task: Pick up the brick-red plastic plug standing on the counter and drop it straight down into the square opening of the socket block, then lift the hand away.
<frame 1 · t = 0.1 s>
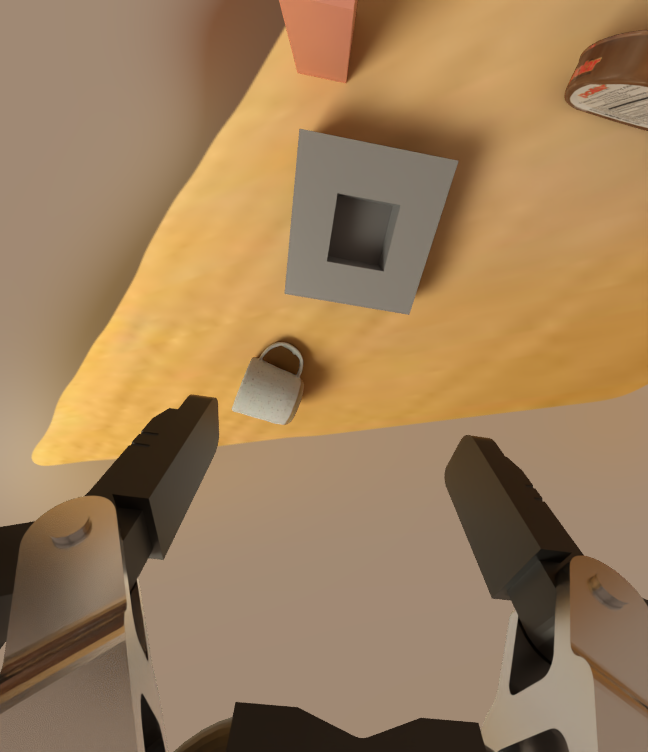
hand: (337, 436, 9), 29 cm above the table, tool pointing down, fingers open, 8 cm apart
ceramic mug: (275, 370, 42), on the table
tin: (619, 108, 27), on the table
plug: (325, 42, 25), on the table
socket block: (358, 231, 32), on the table
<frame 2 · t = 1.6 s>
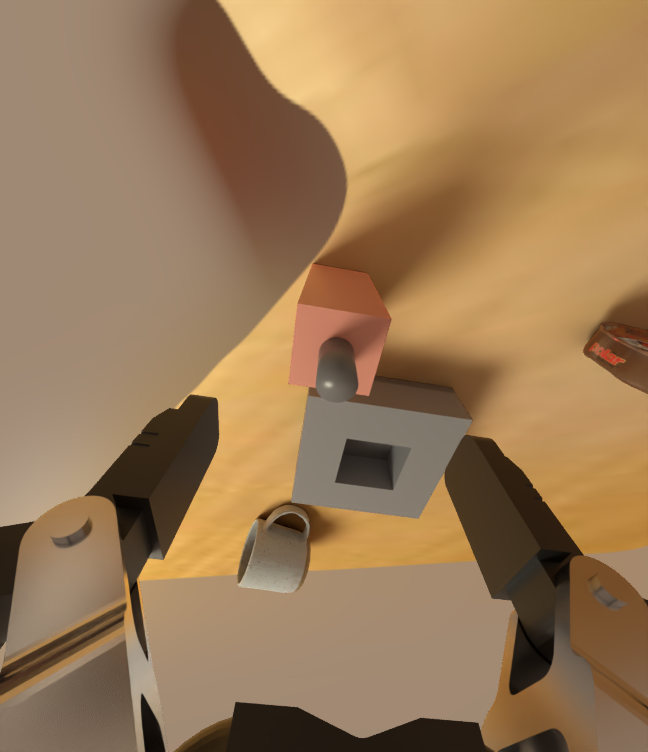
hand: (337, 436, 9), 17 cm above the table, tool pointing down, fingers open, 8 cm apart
ceramic mug: (281, 522, 41), on the table
tin: (639, 346, 26), on the table
plug: (335, 296, 24), on the table
socket block: (366, 430, 31), on the table
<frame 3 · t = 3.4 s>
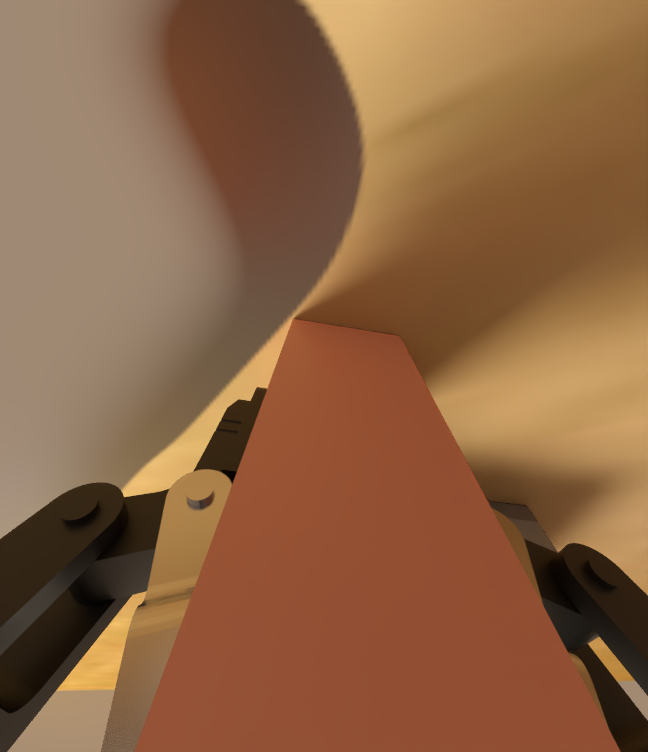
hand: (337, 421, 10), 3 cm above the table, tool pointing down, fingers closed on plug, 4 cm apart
plug: (337, 373, 13), on the table, touching gripper
socket block: (383, 555, 20), on the table
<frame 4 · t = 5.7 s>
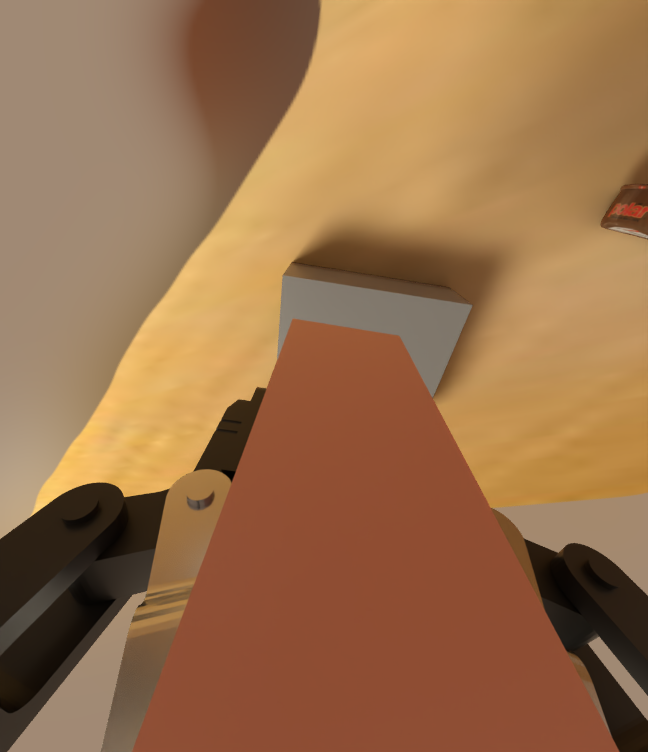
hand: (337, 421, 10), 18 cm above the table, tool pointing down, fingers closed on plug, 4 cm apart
plug: (336, 373, 13), point 15 cm above the table, touching gripper
socket block: (355, 346, 28), on the table
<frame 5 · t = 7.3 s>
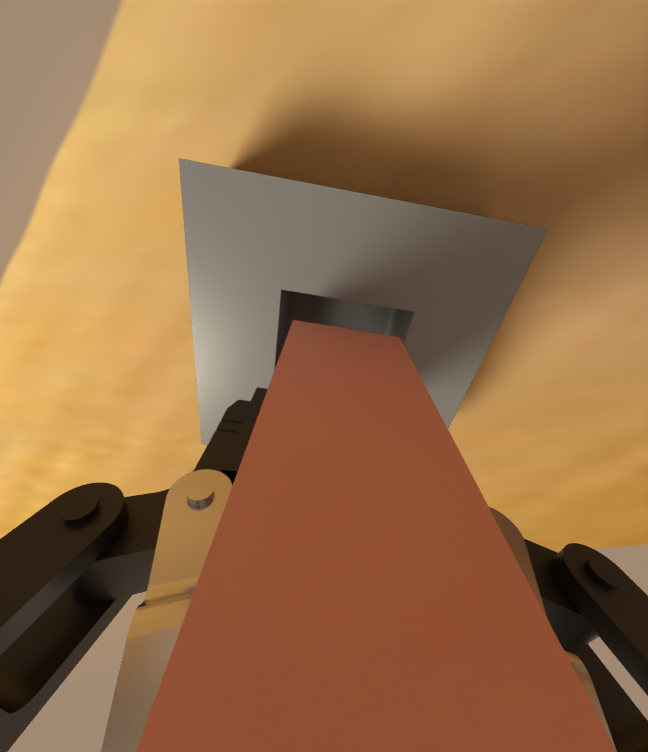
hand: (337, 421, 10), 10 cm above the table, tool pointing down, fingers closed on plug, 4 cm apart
plug: (337, 374, 13), point 6 cm above the table, touching gripper
socket block: (335, 325, 18), on the table
when the fingers open (6 cm above the table, at t = 8.3 s): plug drops 2 cm, resting on socket block.
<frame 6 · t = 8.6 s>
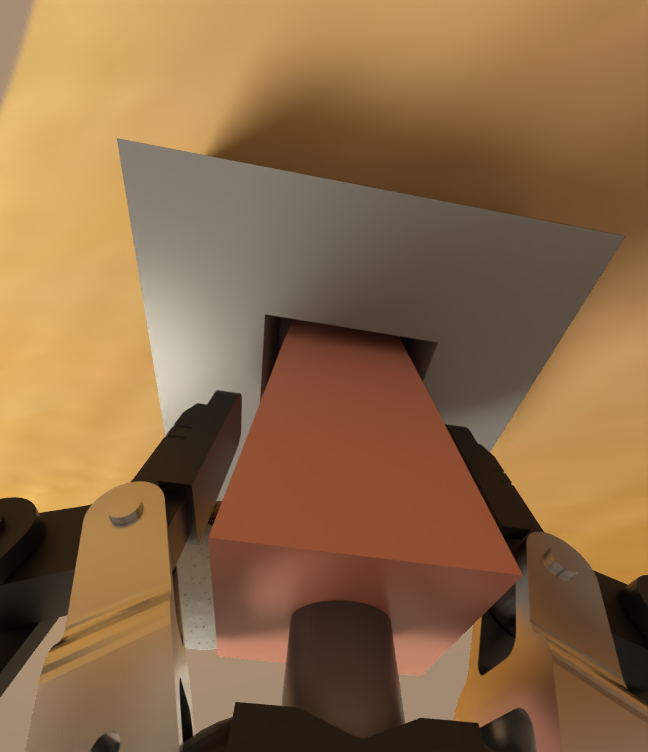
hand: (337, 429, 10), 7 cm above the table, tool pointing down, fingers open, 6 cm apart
ceramic mug: (213, 519, 24), on the table
plug: (336, 355, 15), point 1 cm above the table, touching socket block
socket block: (336, 347, 15), on the table
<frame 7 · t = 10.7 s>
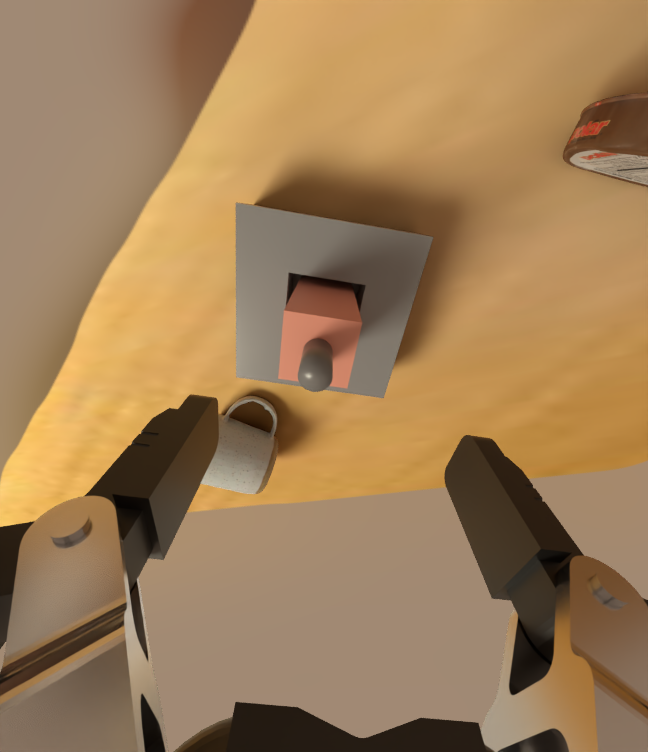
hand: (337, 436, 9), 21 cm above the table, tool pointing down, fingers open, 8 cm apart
ceramic mug: (247, 425, 36), on the table
tin: (629, 166, 22), on the table
plug: (323, 303, 27), point 1 cm above the table, touching socket block
socket block: (323, 300, 28), on the table
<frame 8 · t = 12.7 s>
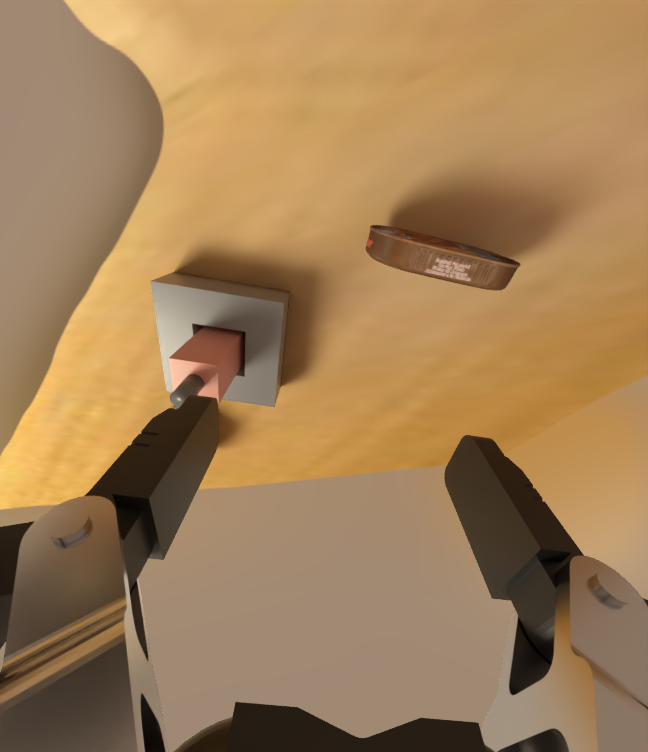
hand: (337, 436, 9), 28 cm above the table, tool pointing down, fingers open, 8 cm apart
tin: (426, 251, 32), on the table
plug: (230, 338, 37), point 1 cm above the table, touching socket block
socket block: (232, 335, 38), on the table
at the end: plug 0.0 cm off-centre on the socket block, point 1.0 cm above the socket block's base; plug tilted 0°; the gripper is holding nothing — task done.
